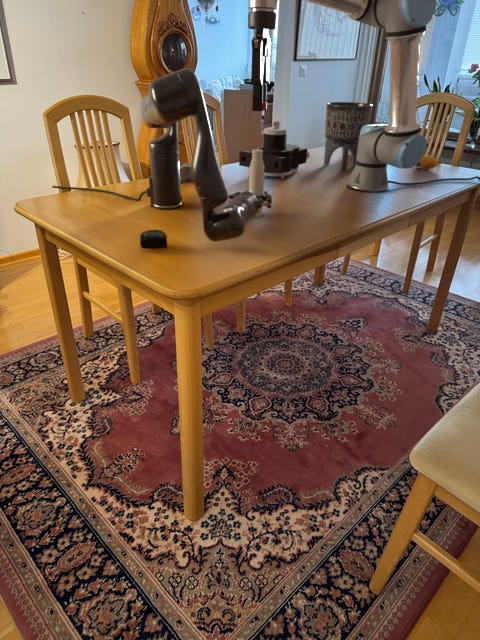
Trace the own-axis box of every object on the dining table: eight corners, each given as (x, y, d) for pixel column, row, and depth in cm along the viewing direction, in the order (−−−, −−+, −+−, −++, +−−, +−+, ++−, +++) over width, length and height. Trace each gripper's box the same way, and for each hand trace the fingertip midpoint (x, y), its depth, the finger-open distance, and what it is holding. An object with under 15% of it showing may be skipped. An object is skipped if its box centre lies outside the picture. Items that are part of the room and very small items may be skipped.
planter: (313, 167, 208) (319, 103, 195) (331, 160, 222) (338, 101, 209) (353, 173, 199) (362, 107, 185) (369, 166, 213) (379, 104, 199)
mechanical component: (240, 120, 182) (283, 115, 202) (239, 174, 192) (280, 164, 212) (283, 126, 170) (325, 120, 190) (280, 183, 180) (320, 171, 200)
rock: (198, 175, 188) (197, 159, 184) (210, 180, 182) (210, 163, 179) (170, 180, 180) (169, 163, 177) (183, 185, 175) (182, 168, 171)
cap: (255, 110, 126) (256, 102, 125) (249, 109, 130) (249, 101, 129) (269, 110, 128) (269, 102, 127) (262, 109, 131) (262, 101, 130)
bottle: (246, 216, 143) (247, 150, 133) (250, 212, 147) (252, 148, 137) (259, 217, 142) (262, 151, 132) (263, 213, 145) (266, 149, 136)
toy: (413, 162, 205) (407, 155, 217) (415, 176, 208) (410, 168, 220) (439, 154, 201) (432, 147, 214) (441, 168, 204) (434, 161, 217)
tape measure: (140, 252, 115) (139, 238, 113) (141, 242, 120) (140, 229, 119) (167, 251, 116) (166, 237, 114) (167, 241, 121) (166, 228, 120)
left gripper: (267, 197, 126) (280, 183, 140) (218, 192, 129) (236, 179, 143) (266, 223, 129) (279, 207, 144) (219, 218, 133) (236, 203, 147)
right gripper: (256, 13, 125) (253, 106, 137) (240, 8, 111) (238, 112, 122) (282, 14, 124) (277, 108, 135) (270, 8, 109) (265, 113, 121)
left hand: (257, 193), depth 143 cm, fingers closed on bottle, 4 cm apart
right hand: (259, 110), depth 129 cm, fingers closed on cap, 4 cm apart
